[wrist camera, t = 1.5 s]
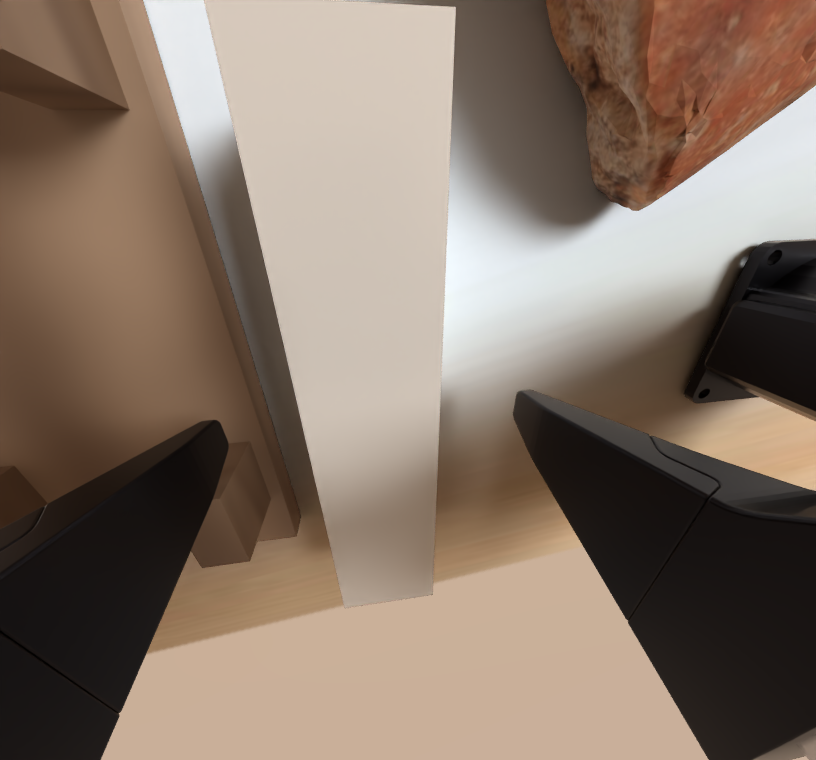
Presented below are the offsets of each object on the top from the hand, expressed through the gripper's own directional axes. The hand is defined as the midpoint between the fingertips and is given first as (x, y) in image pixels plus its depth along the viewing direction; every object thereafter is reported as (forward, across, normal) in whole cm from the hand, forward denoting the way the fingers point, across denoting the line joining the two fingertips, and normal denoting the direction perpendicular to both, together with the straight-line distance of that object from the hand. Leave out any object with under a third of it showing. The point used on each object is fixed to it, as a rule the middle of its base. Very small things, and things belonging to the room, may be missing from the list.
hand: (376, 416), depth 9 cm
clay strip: (+3, 0, 0) cm, 3 cm away
